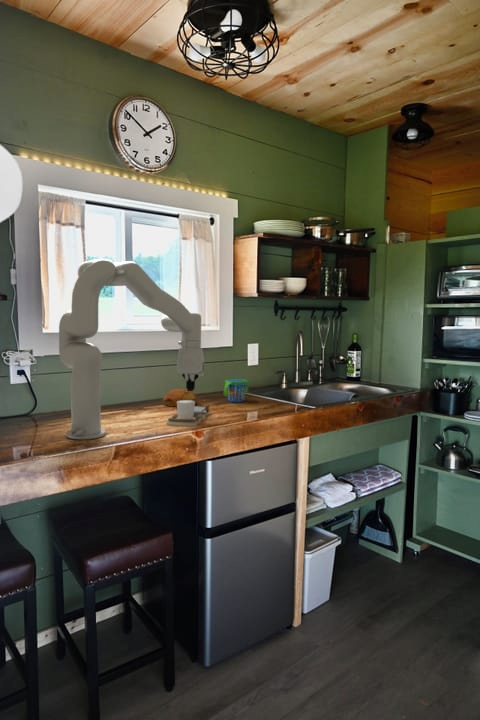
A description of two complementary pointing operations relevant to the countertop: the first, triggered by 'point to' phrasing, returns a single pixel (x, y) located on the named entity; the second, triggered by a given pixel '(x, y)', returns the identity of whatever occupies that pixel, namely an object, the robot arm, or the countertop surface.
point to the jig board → (187, 422)
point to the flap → (199, 409)
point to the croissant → (178, 397)
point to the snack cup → (236, 389)
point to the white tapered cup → (185, 409)
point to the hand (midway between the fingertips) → (190, 390)
